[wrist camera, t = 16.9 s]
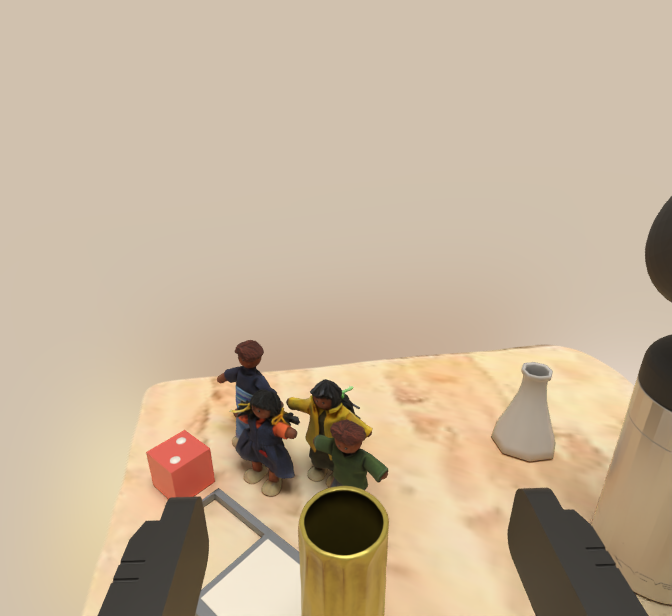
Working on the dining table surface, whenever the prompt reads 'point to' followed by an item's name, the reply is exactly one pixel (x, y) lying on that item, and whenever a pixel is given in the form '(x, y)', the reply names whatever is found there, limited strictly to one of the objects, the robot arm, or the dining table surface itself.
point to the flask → (527, 418)
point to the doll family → (274, 424)
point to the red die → (181, 466)
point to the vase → (343, 553)
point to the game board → (254, 574)
